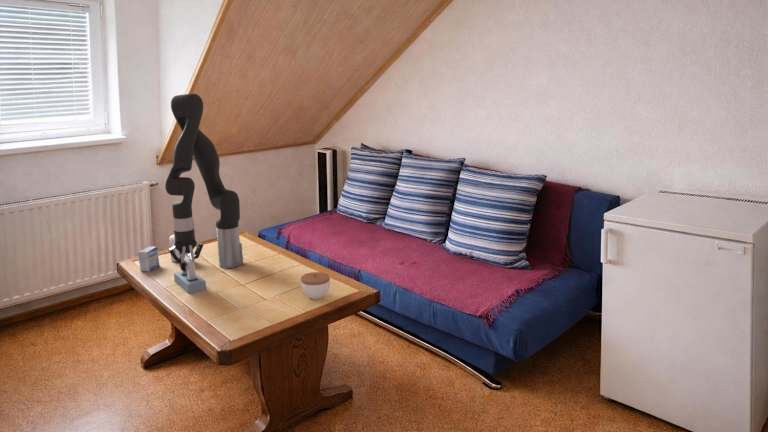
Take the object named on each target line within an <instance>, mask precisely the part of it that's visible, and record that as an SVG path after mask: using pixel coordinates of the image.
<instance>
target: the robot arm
mask: <svg viewBox="0 0 768 432" xmlns="http://www.w3.org/2000/svg"><path fill="white" fill-rule="evenodd" d="M170 108H171V109H170V110H171V113H172V115H173V116H174V118H175V120H176V122H177V124H178V126H179V128H180V131H182V133H181V135H180V136H179V138H178V140H177V142H176V143H175V146H174V149H173V157H172V165H171V167H170V170H169V174H168V175H167V178H166V180H165V186H164V188H165V191H166V193H167V194H168V195H170V196H177V197H178V196H181V197H183V199H182V200H177V201H174V202H173V203H172V204H171V205H172V219H173V221H172V222H173V223H172V224H173V225H172V227H173V233H174V234H173V235H174V236H175V244H174V247H172V248H170V247H169V248H168V249H167V251H168V253H169V254H170V256H171V255H172V257H173V258H174V260H175V261H177V262H176V263H179V264H180V271H181V270H183V271H184V272H185V271H186V267H185V262H184V259H185V254H186V253H188V254H189V258H190V259H191V260H192V261H194V262H195V260H197V259H199V257H200V255H201V252H202V250H203V247H204V243H203V244H202V243H201V242H198V241H197V240H196V234H195V223H194V217H193V209H192V207H193V199H194V198H193V197H194V193H195V187H196V186H195V185H196V184H195V181H194V180H193V179H192V178H190V177H188V176H181V175H182V174H183V173H188V172H190V171H191V170H192V167H193V159H194V161H195V165H196V166H197V168H198V170H199V173H200V176H201V178H202V180H203V182H204V185H205V189H206V192H207V196H208V199H209V202H210V204H211V206H212V208H213V209H216V210H218V211H220V218H218V219H217V220H216V221H215V230H216V240H217V253H218V265H219V267H220V268H224V269H233V268H237V267H240V266H241V265H244V256H243V244H242V242H241V240H240V229H239V221H240V218H241V213H240V210H241V207H240V206H241V205H240V204H241V203H240V197H239V195H238V193H237V192H236V191H234V190H230V189H227V188H226V187H225V186H224V183H223V181H222V179H221V175H220V163H221V162H220V161H221V160H220V157H219V155H218V151H217V149H216V146H215V144H214V143H213V141H212V140H211V139H210V138H209V137H208V136H207V135H205V133H203V131H202V130H201V129H200V125H201V121H202V117H203V112H204V101H203V99H202V97H201V96H200V95H199V94H197V93H186V94H185V93H184V94H179V95H178V94H177V95H175V96H173V97H172V98H171V101H170ZM175 249H177V250H178V251H179V258H178V257H177V256H176V254H175V252H176V251H175ZM194 249H195V250H194Z"/></svg>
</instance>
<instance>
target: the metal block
mask: <svg viewBox="0 0 768 432" xmlns="http://www.w3.org/2000/svg"><path fill="white" fill-rule="evenodd" d="M184 262H185V267H186V271H185V272H184V271H183V270H181V269H180V271H181V273H182V274H183V275H184V274H187V276H188V280H194V279H196V275H195V273H196V266H195V265H196V264H195V263H196V262H195V260H194V261H192V260H191V259H190V258H189V257H187V256H186V255H185V259H184Z"/></svg>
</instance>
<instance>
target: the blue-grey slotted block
mask: <svg viewBox="0 0 768 432" xmlns="http://www.w3.org/2000/svg"><path fill="white" fill-rule="evenodd" d="M195 275H196V279H194V280H188V276H187V274H184V275H183V274H182V273H181V270H180V271H176V272H174V273H173V278H174V279H173V280H174V282H176V284H178V285H179V287H180V288H182V289H183V290H185V292H186V293H187V294H192V293H195V292H196V293H197V292H201V291H204V290H207V281H206V280H205V279H204V278H203V277H201V276H200V275H199V274H198V273H197V272H195Z"/></svg>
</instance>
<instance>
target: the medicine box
mask: <svg viewBox="0 0 768 432" xmlns="http://www.w3.org/2000/svg"><path fill="white" fill-rule="evenodd" d="M158 251H159V250H158V247H157V246H146V248H143V249H141V250H140V251H138V252H137V254H138V255H137V256H138V262H139V270H140V271H141V272H147V271H148V272H151V270H152V271H153V270H154V268H155V269H156V268H158V267H159V266H160V259H159V252H158ZM148 272H147V273H148Z"/></svg>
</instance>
